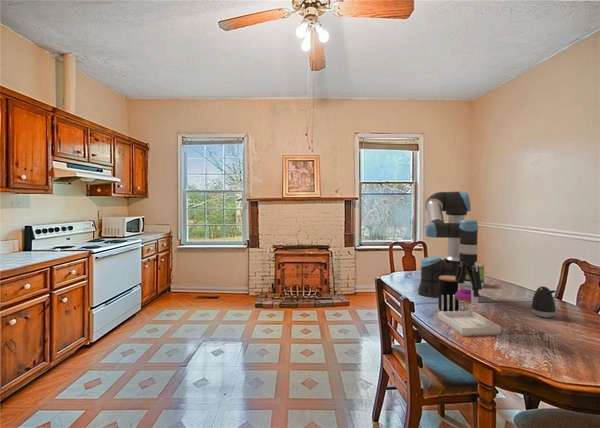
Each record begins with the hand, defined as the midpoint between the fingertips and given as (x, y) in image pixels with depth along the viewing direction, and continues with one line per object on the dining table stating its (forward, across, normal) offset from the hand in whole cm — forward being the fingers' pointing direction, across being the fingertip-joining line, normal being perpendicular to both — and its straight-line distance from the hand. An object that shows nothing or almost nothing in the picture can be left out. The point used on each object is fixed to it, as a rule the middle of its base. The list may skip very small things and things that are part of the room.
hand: (467, 299), depth 160 cm
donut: (+1, 0, 0) cm, 1 cm away
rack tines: (+12, -12, 0) cm, 17 cm away
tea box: (+13, -72, +46) cm, 86 cm away
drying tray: (+12, 0, 0) cm, 12 cm away
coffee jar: (+13, -22, +3) cm, 26 cm away
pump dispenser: (+13, -9, +46) cm, 49 cm away
